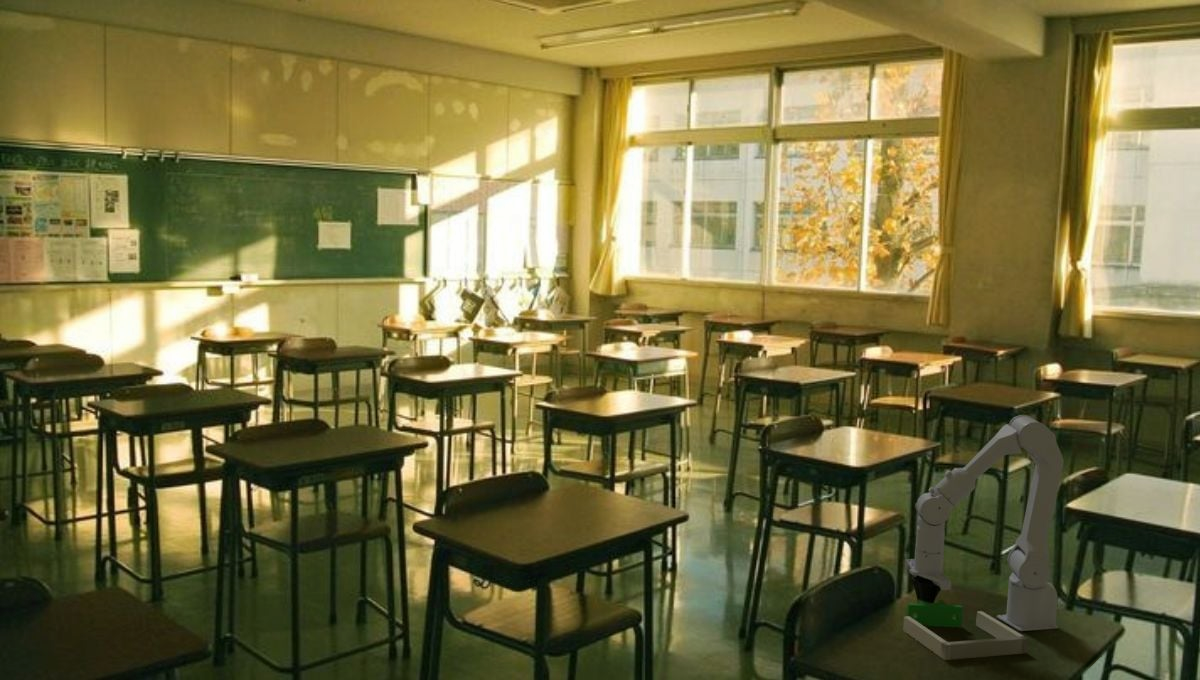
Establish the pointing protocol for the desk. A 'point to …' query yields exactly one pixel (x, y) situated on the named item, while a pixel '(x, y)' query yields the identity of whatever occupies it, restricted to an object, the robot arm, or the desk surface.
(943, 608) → the green flat block
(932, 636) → the docking bay
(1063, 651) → the desk surface
